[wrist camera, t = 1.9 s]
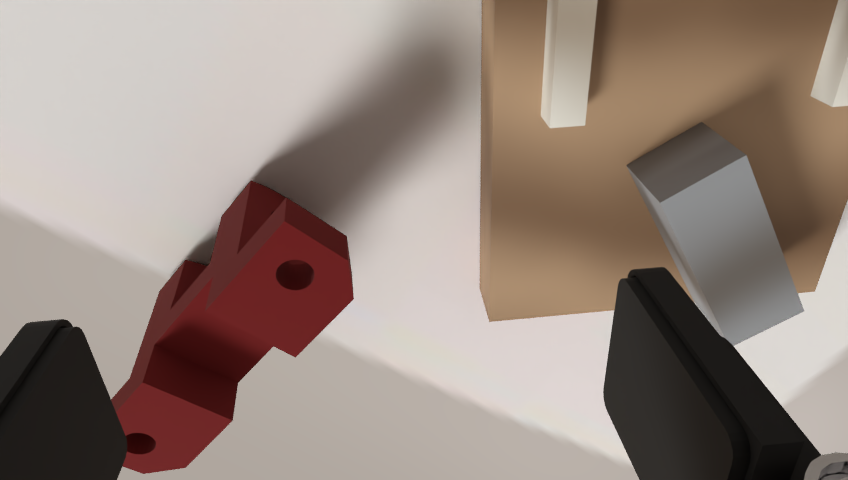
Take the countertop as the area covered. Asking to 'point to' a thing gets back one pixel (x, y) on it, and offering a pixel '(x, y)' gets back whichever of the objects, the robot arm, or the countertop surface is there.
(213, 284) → the bracket
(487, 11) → the jig
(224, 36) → the countertop surface
